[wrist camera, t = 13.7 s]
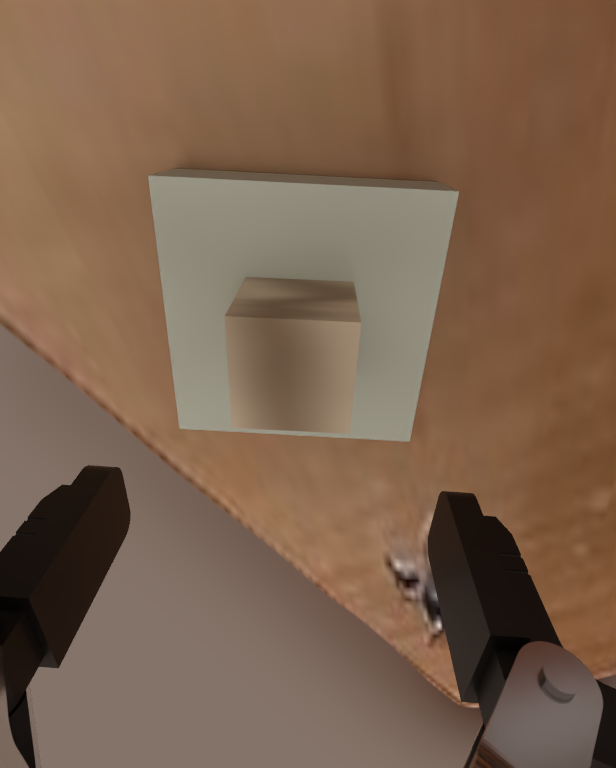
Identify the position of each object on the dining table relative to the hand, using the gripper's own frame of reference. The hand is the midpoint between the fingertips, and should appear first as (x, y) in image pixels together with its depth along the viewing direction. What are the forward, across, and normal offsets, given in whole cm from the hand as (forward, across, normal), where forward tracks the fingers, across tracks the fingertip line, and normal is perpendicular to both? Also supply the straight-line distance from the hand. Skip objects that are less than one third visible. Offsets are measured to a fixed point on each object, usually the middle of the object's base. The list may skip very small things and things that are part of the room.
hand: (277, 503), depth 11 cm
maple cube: (+12, 0, 0) cm, 12 cm away
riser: (+16, 0, 0) cm, 16 cm away
